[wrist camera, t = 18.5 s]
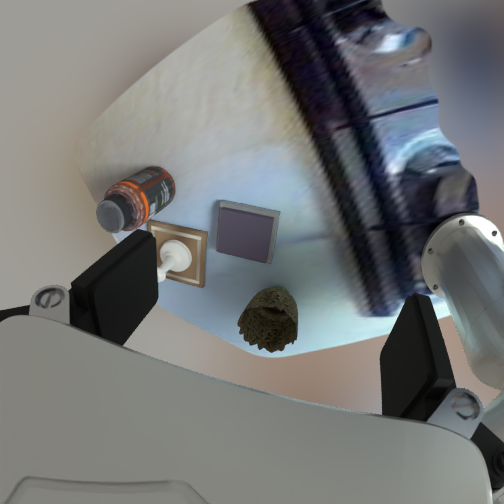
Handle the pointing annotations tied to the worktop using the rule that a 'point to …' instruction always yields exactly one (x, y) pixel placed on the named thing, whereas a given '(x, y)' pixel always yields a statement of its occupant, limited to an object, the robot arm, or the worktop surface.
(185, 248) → the chess piece
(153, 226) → the stamp board
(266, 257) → the ink pad
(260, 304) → the cup
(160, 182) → the supplement bottle
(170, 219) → the worktop surface
